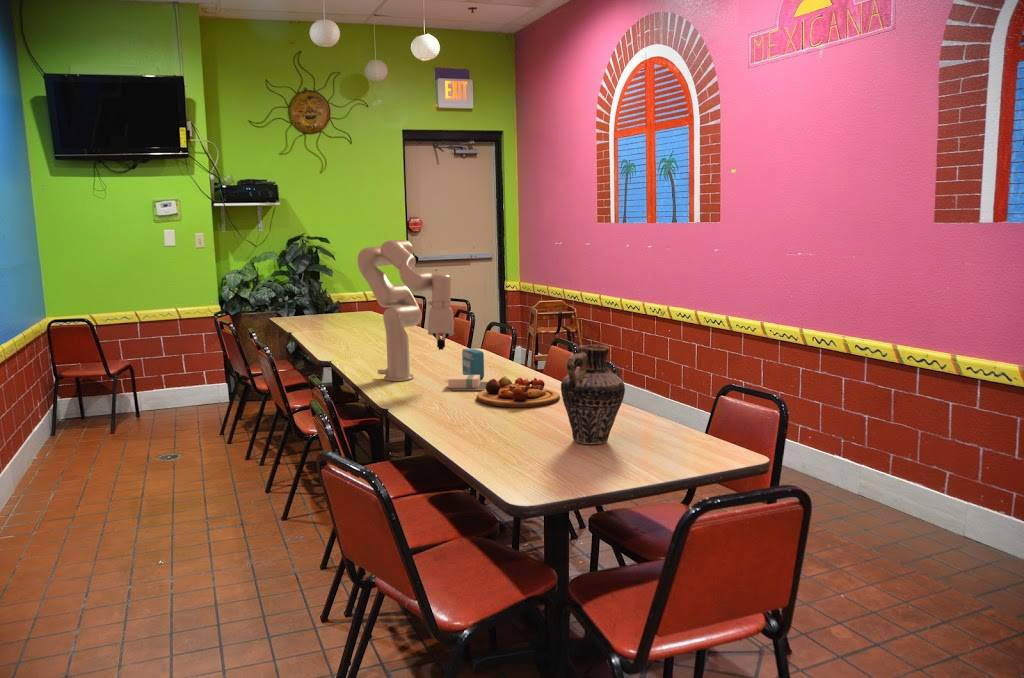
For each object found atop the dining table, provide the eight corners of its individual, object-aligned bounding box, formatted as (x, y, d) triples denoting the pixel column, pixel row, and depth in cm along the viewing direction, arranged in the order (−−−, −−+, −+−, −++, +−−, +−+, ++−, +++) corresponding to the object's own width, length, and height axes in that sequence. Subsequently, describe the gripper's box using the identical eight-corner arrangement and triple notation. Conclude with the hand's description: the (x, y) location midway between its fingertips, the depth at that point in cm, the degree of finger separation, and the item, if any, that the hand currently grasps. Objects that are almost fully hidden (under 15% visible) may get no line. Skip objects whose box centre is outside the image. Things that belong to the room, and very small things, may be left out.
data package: (462, 375, 357) (461, 348, 355) (471, 374, 359) (471, 347, 357) (475, 380, 347) (474, 352, 345) (484, 378, 349) (483, 351, 347)
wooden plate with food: (552, 411, 291) (552, 388, 290) (466, 406, 298) (466, 384, 297) (565, 393, 322) (566, 373, 321) (488, 390, 329) (488, 370, 328)
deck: (448, 379, 327) (477, 379, 327) (451, 374, 336) (480, 374, 336) (448, 388, 328) (477, 388, 327) (451, 383, 337) (480, 383, 336)
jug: (584, 429, 264) (584, 339, 260) (636, 439, 252) (637, 344, 247) (546, 444, 248) (545, 347, 244) (599, 455, 236) (600, 353, 232)
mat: (451, 391, 325) (451, 389, 324) (456, 383, 340) (456, 381, 340) (498, 391, 323) (498, 389, 323) (501, 383, 339) (501, 381, 339)
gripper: (421, 305, 325) (421, 350, 328) (458, 306, 324) (458, 351, 327) (424, 303, 332) (424, 347, 335) (460, 304, 331) (460, 348, 334)
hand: (441, 349), depth 331 cm, fingers closed
